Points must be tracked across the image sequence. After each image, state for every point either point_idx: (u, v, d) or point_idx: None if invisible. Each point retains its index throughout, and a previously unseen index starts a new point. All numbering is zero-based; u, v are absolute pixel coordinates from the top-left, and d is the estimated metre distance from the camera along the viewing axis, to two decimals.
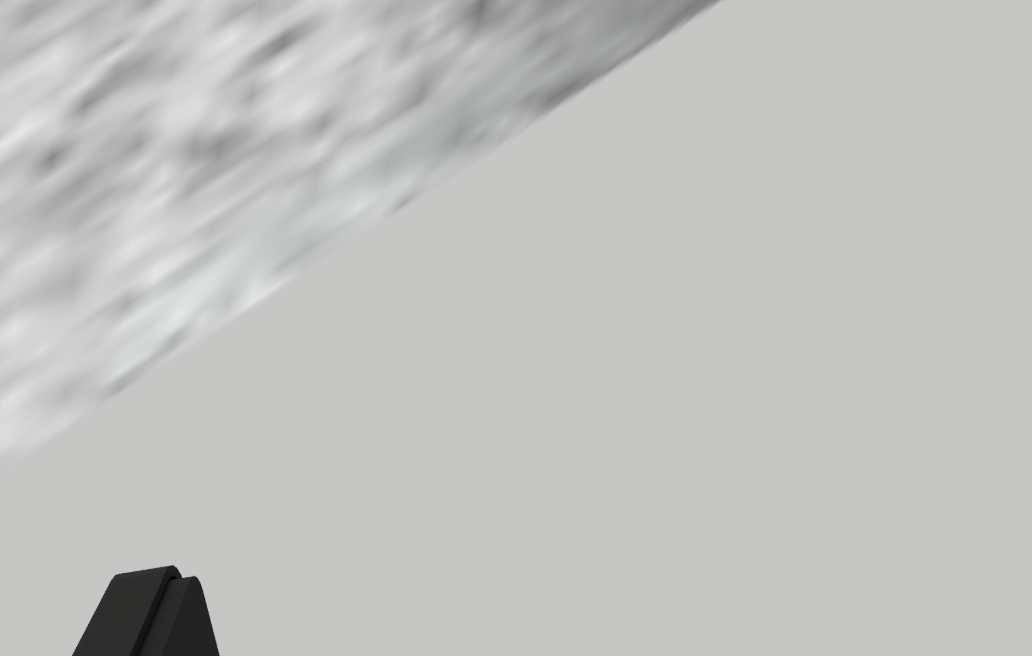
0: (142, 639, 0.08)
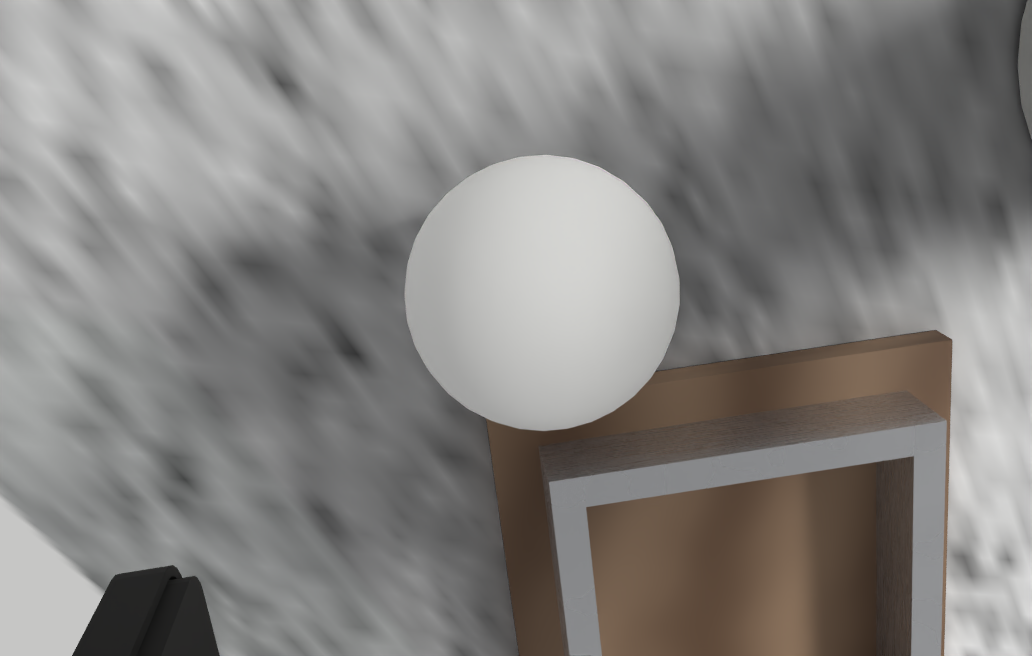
0: (142, 639, 0.08)
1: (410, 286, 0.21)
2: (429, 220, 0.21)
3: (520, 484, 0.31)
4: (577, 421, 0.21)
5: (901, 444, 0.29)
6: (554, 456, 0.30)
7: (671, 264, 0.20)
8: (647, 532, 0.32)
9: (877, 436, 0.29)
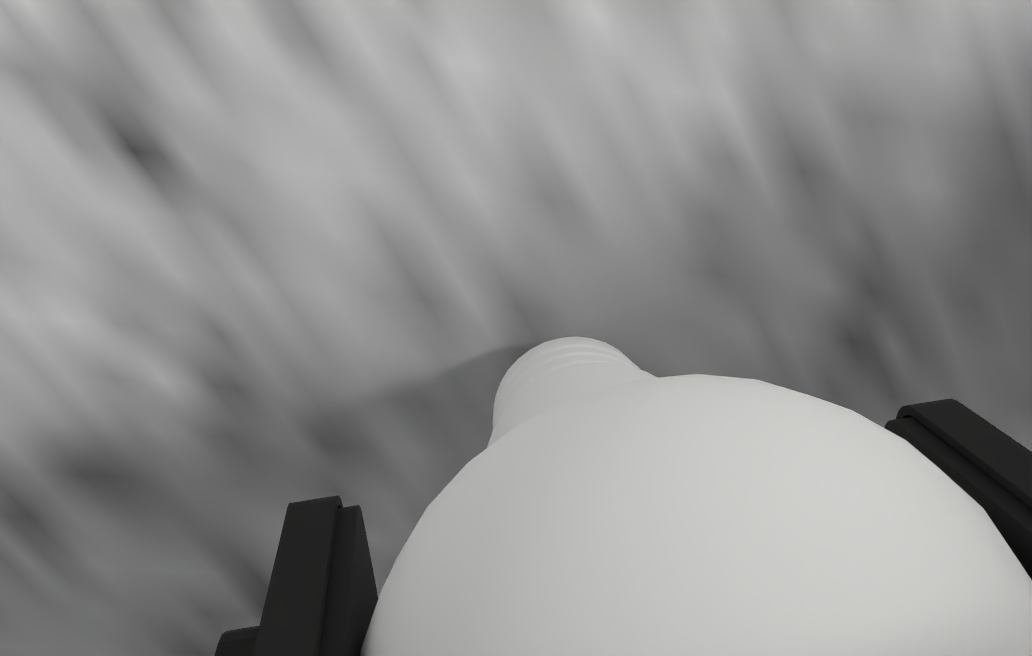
0: (332, 553, 0.09)
1: None
2: (415, 576, 0.08)
3: None
4: None
5: None
6: None
7: None
8: None
9: None
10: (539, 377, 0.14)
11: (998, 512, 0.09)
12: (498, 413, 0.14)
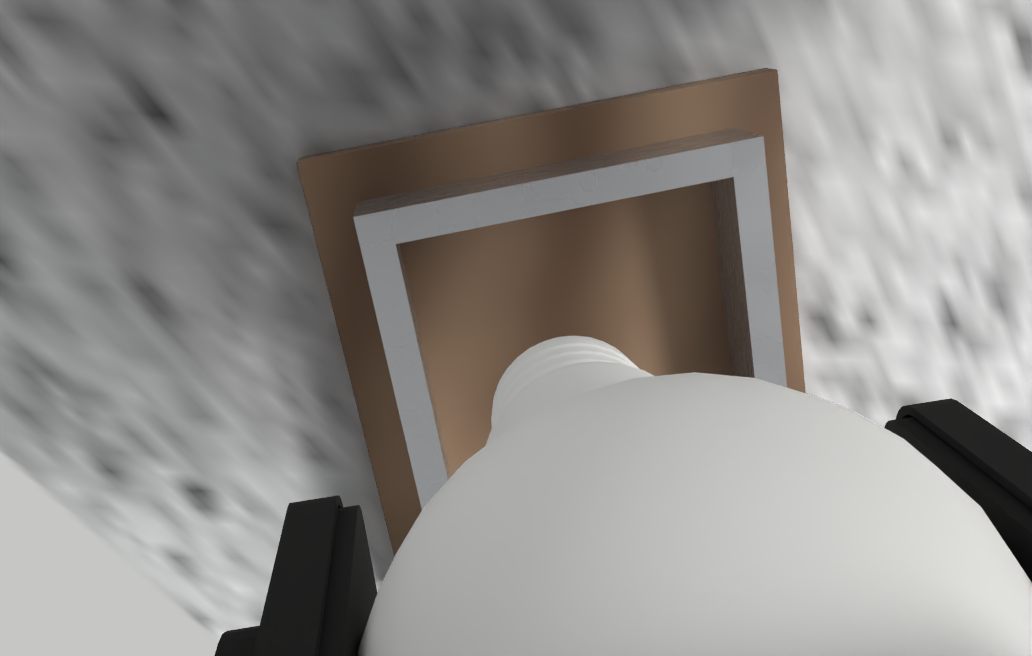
0: (332, 553, 0.09)
1: None
2: (413, 575, 0.08)
3: (343, 244, 0.30)
4: None
5: (719, 164, 0.28)
6: (368, 204, 0.29)
7: None
8: (482, 294, 0.31)
9: (692, 156, 0.28)
10: (537, 376, 0.14)
11: (997, 512, 0.09)
12: (497, 412, 0.14)
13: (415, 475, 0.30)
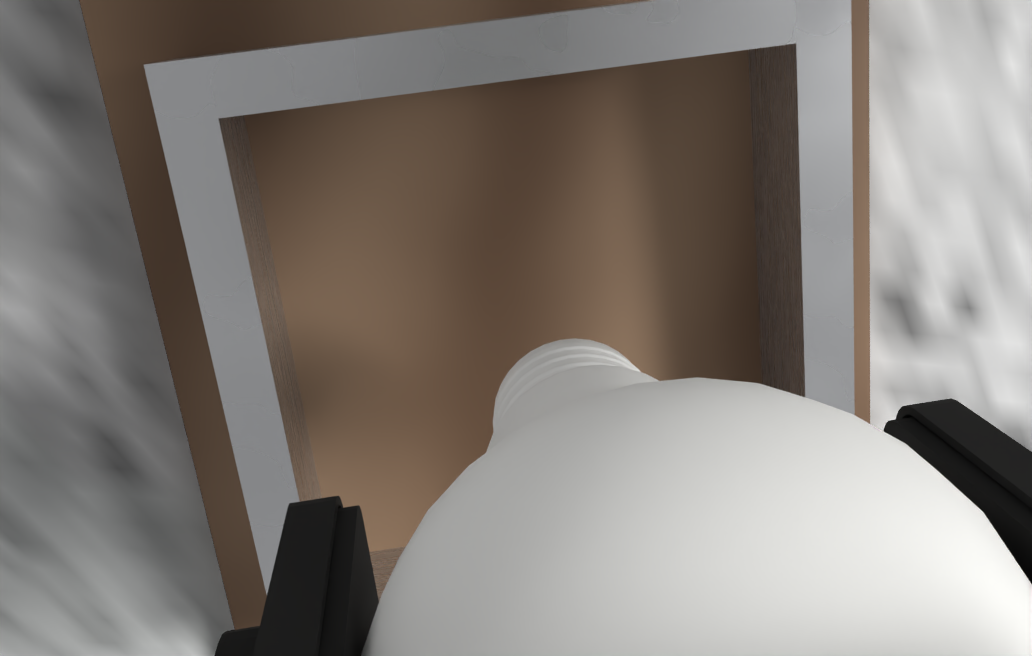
0: (332, 553, 0.09)
1: None
2: (416, 580, 0.08)
3: (154, 130, 0.19)
4: None
5: (773, 19, 0.17)
6: None
7: None
8: (379, 226, 0.20)
9: (731, 2, 0.17)
10: (539, 380, 0.14)
11: (997, 512, 0.09)
12: (498, 415, 0.14)
13: (249, 510, 0.18)
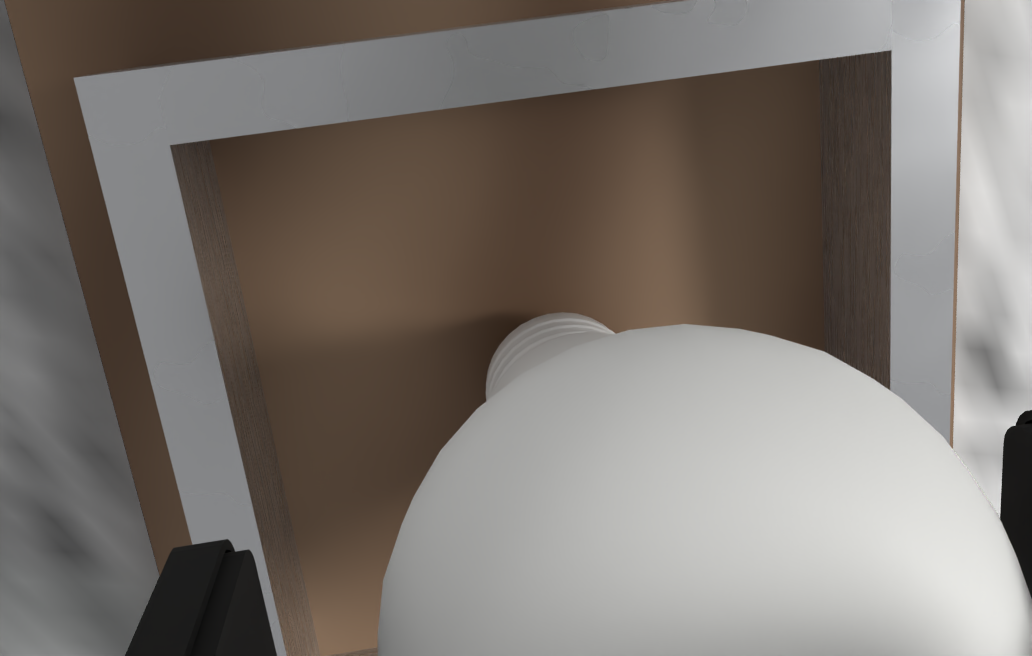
0: (206, 606, 0.09)
1: None
2: (436, 504, 0.08)
3: None
4: None
5: (864, 20, 0.13)
6: (136, 68, 0.14)
7: None
8: (374, 269, 0.16)
9: None
10: (530, 349, 0.15)
11: None
12: (491, 384, 0.15)
13: None
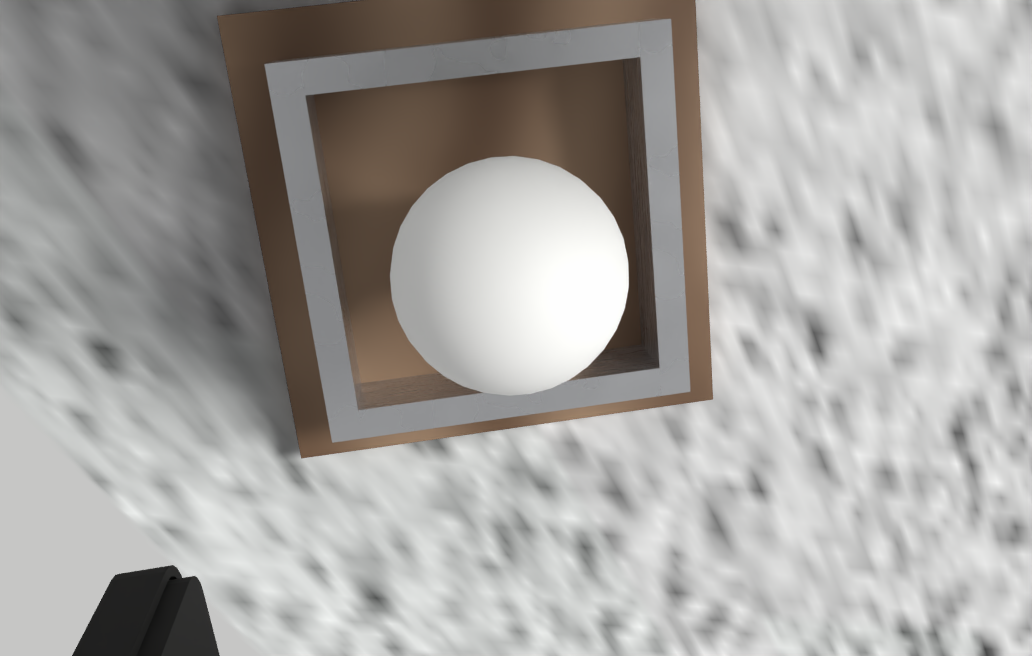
0: (142, 639, 0.08)
1: (395, 267, 0.24)
2: (412, 210, 0.24)
3: (259, 104, 0.31)
4: (538, 386, 0.24)
5: (626, 43, 0.29)
6: (284, 60, 0.29)
7: (620, 251, 0.24)
8: (394, 166, 0.32)
9: (601, 32, 0.29)
10: None
11: None
12: None
13: (314, 334, 0.30)
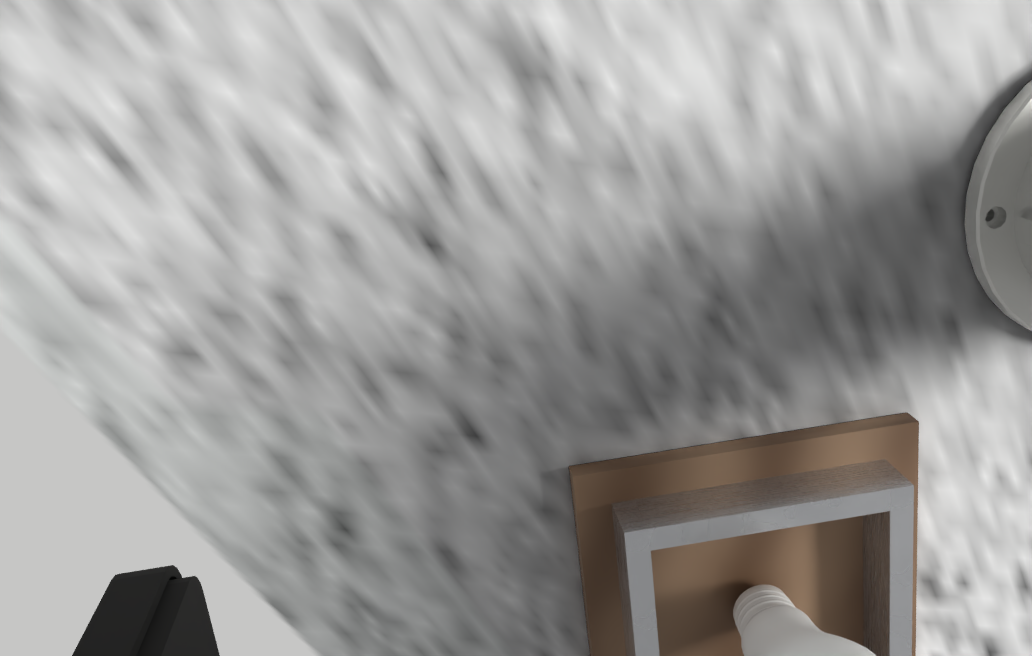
0: (142, 639, 0.08)
1: None
2: None
3: (597, 531, 0.41)
4: None
5: (880, 502, 0.39)
6: (624, 512, 0.40)
7: None
8: (691, 566, 0.42)
9: (863, 497, 0.39)
10: (757, 606, 0.40)
11: None
12: (740, 615, 0.41)
13: None
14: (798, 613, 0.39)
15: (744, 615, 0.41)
